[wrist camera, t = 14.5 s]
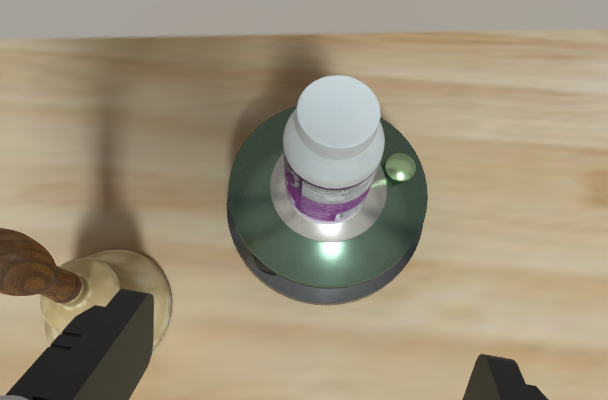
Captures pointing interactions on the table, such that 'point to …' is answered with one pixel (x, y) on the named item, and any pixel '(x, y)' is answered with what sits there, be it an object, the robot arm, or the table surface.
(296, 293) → the levelling base
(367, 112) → the pill bottle
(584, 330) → the table surface
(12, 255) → the hand bell
